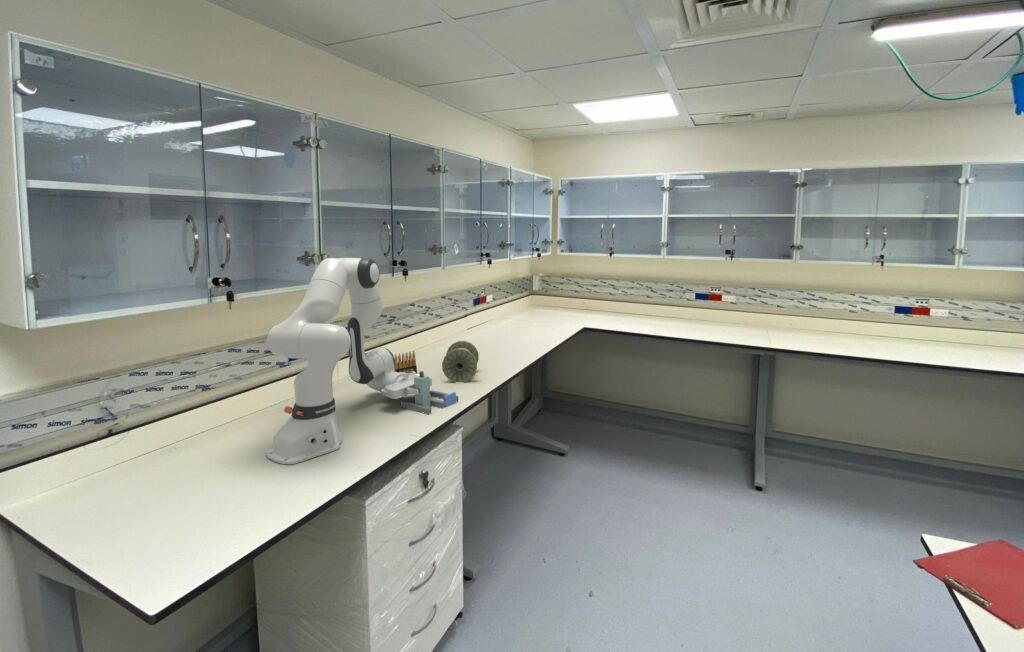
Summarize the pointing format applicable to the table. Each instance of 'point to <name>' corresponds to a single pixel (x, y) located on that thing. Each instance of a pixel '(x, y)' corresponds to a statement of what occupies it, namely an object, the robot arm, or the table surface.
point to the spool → (460, 361)
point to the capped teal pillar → (422, 390)
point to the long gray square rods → (432, 402)
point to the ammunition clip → (405, 363)
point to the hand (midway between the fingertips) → (424, 389)
